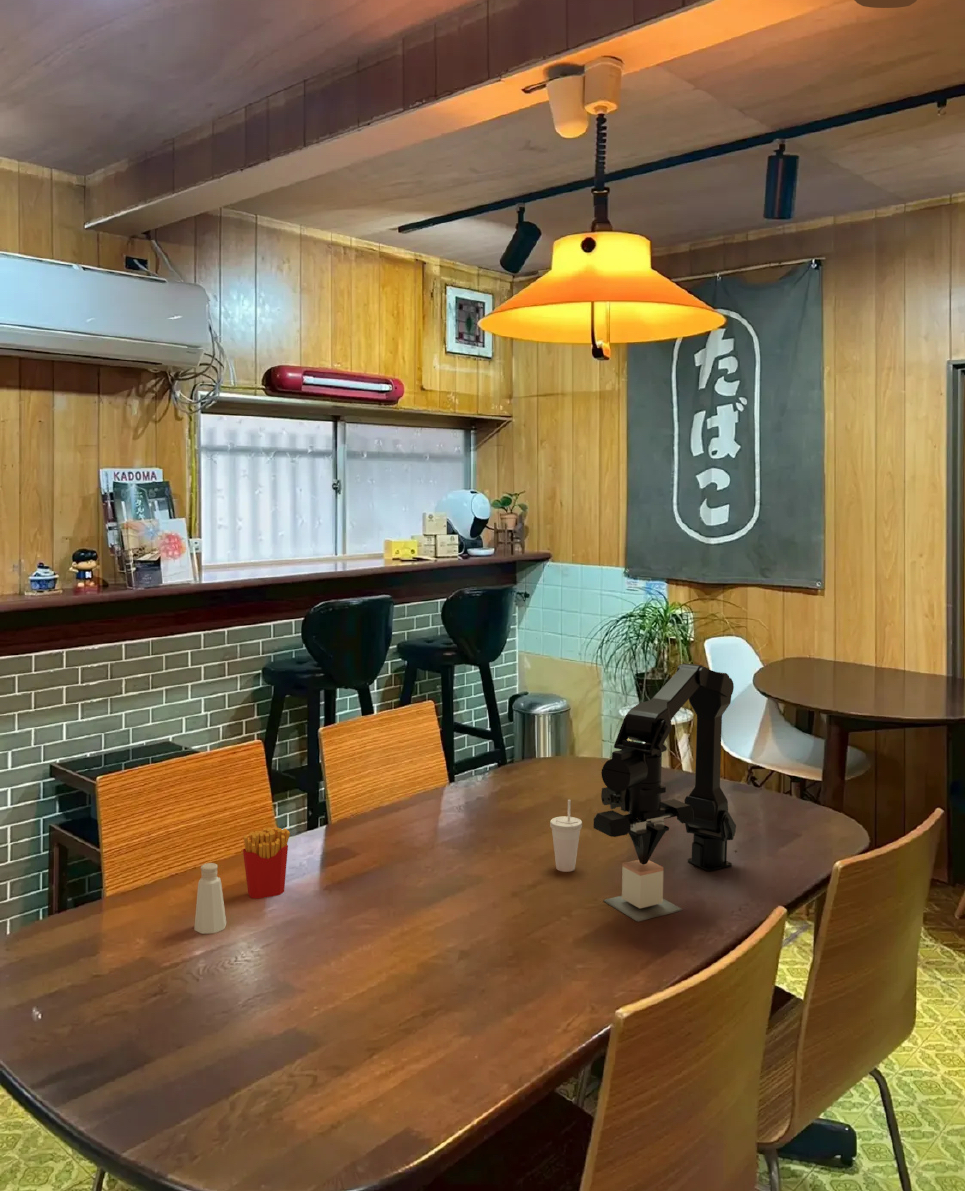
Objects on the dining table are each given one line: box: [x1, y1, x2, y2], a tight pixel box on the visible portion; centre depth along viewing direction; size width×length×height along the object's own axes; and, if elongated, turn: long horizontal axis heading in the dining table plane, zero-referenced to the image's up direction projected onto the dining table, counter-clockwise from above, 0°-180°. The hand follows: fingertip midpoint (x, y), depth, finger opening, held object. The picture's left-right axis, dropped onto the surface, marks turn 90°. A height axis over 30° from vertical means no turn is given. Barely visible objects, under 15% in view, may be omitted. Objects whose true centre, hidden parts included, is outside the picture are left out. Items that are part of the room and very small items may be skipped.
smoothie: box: [549, 799, 583, 873], centre depth 197 cm, size 6×6×14 cm
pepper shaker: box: [193, 862, 227, 935], centre depth 169 cm, size 5×5×11 cm
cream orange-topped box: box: [621, 859, 664, 908], centre depth 179 cm, size 5×5×7 cm
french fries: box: [242, 826, 291, 900], centre depth 184 cm, size 8×4×12 cm, turn 118°
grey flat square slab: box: [603, 895, 683, 923], centre depth 179 cm, size 10×10×7 cm
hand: (643, 863), depth 179 cm, fingers closed
